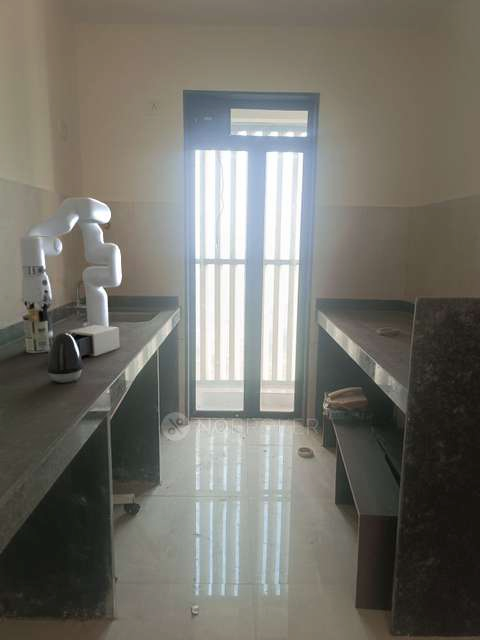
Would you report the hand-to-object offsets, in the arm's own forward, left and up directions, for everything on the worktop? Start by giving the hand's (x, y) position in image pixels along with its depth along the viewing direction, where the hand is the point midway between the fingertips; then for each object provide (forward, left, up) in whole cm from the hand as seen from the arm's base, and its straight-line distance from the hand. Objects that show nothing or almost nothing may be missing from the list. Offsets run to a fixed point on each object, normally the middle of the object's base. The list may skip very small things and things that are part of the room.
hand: (38, 320), depth 153 cm
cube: (0, 0, 0) cm, 0 cm away
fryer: (+11, +17, -14) cm, 24 cm away
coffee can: (-9, +8, -14) cm, 19 cm away
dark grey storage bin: (+11, +5, -13) cm, 18 cm away
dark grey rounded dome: (+29, -16, -14) cm, 36 cm away
